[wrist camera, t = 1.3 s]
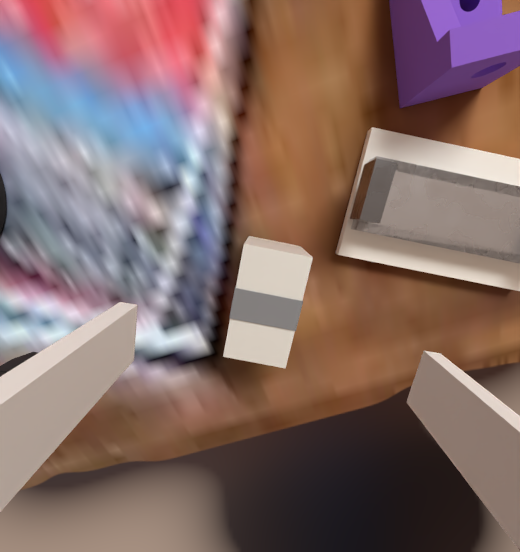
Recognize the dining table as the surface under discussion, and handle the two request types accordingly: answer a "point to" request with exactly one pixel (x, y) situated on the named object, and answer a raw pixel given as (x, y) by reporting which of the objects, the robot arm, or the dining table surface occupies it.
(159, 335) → the dining table surface
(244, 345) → the block
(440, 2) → the bracket
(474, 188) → the rail
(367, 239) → the mount plate
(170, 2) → the dining table surface
